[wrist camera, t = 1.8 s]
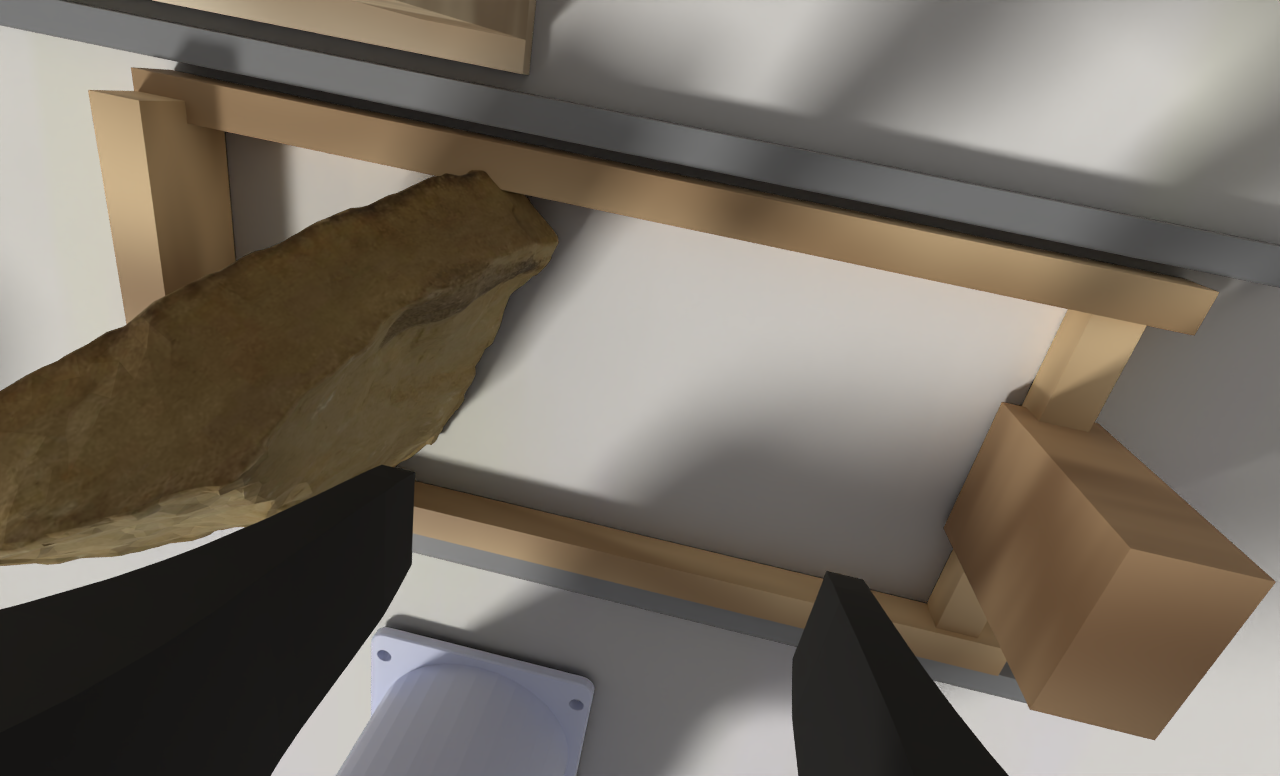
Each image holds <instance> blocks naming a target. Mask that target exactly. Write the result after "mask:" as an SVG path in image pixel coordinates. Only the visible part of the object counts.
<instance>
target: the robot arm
mask: <svg viewBox="0 0 1280 776" xmlns="http://www.w3.org/2000/svg"><path fill="white" fill-rule="evenodd" d="M414 486H415V472H411V471H407V470H402V469H398V468H394V467H390V466H386V465H380V466H377V467H375V468H372V469H370V470H368V471H366V472H363V473H361V474H359V475H357V476H355V477H353V478H351V479H349V480H347V481H344V482H342V483H340V484H338V485H336V486H334V487H332V488H330V489H328V490H326V491H324V492H322V493H320V494H318V495H316V496H313V497H311V498H309V499H307V500H305V501H303V502H301V503H299V504H296V505H294V506H292V507H290V508H288V509H286V510H284V511H281V512H279V513H277V514H275V515H273V516H271V517H269V518H266V519H264V520H262V521H259V522H257V523H255V524H252V525H250V526H248V527H245V528H243V529H240V530H238V531H236V532H233V533H231V534H229V535H226V536H224V537H222V538H219V539H217V540H215V541H212V542H210V543H208V544H205V545H203V546H200V547H198V548H195V549H193V550H190V551H187V552H185V553H182V554H179V555H177V556H174V557H171V558H169V559H166V560H163V561H160V562H157V563H155V564H152V565H149V566H146V567H143V568H140V569H137V570H134V571H131V572H128V573H125V574H123V575H119V576H116V577H113V578H110V579H107V580H104V581H100V582H97V583H93V584H90V585H86V586H83V587H79V588H76V589H73V590H69V591H66V592H62V593H59V594H55V595H52V596H48V597H45V598H41V599H38V600H34V601H31V602H27V603H24V604H20V605H16V606H12V607H9V608H5V609H1V610H0V776H271V774H272V772H273V771H274V769H275V767H276V766H277V764H278V762H279V761H280V759H281V758H282V756H283V755H284V753H285V752H286V750H287V749H288V747H289V746H290V744H291V743H292V741H293V740H294V738H295V737H296V735H297V734H298V733H299V731H300V730H301V728H302V727H303V726H304V724H305V723H306V721H307V720H308V719H309V717H310V716H311V715H312V713H313V712H314V711H315V709H316V708H317V706H318V705H319V704H320V702H321V701H322V700H323V698H324V697H325V696H326V694H327V693H328V691H329V690H330V689H331V687H332V686H333V685H334V683H335V682H336V681H337V679H338V678H339V676H340V675H341V674H342V672H343V671H344V670H345V668H346V667H347V666H348V664H349V663H350V661H351V660H352V659H353V657H354V656H355V655H356V653H357V652H358V650H359V649H360V648H361V646H362V645H363V644H364V642H365V641H366V639H367V638H368V637H369V635H370V634H371V632H372V631H373V630H374V628H375V627H376V625H377V624H378V623H379V621H380V620H381V618H382V617H383V616H384V614H385V612H386V610H387V609H388V607H389V605H390V603H391V602H392V600H393V598H394V596H395V595H396V593H397V591H398V589H399V587H400V585H401V584H402V582H403V580H404V578H405V576H406V574H407V572H408V570H409V569H410V567H411V565H412V540H413V513H414ZM593 695H594V685H593V683H592V682H591V681H590V680H589V679H588V678H585V677H583V676H579V675H575V674H571V673H567V672H563V671H559V670H555V669H551V668H547V667H544V666H540V665H536V664H532V663H528V662H524V661H520V660H516V659H512V658H508V657H504V656H500V655H496V654H492V653H488V652H484V651H480V650H476V649H473V648H469V647H465V646H461V645H457V644H453V643H449V642H445V641H441V640H437V639H433V638H429V637H425V636H421V635H417V634H413V633H409V632H405V631H402V630H398V629H394V628H389V627H383V628H380V629H379V630H377V632H376V633H375V634H374V636H373V637H372V643H371V718H370V720H369V722H368V723H367V725H366V727H365V728H364V730H363V732H362V733H361V735H360V737H359V738H358V740H357V741H356V743H355V745H354V746H353V748H352V750H351V751H350V753H349V755H348V756H347V758H346V760H345V761H344V763H343V765H342V766H341V768H340V770H339V771H338V773H337V774H336V776H576V775H577V770H578V765H579V761H580V756H581V751H582V746H583V742H584V737H585V732H586V728H587V723H588V718H589V713H590V709H591V704H592V699H593ZM575 699H576V700H575ZM577 700H579V701H577ZM792 721H793V731H794V740H795V749H796V758H797V767H798V776H1009V775H1008V774H1007V773H1006V772H1005V771H1004V770H1003V768H1002V767H1001V766H1000V765H999V764H998V763H997V761H996V760H995V759H994V758H993V757H992V756H991V754H990V753H989V752H988V751H987V750H986V748H985V747H984V746H983V745H982V743H981V742H980V741H979V740H978V738H977V737H976V736H975V735H974V733H973V732H972V731H971V730H970V728H969V727H968V726H967V724H966V723H965V722H964V721H963V719H962V718H961V717H960V716H959V714H958V713H957V712H956V711H955V709H954V708H953V707H952V705H951V704H950V703H949V701H948V700H947V699H946V697H945V696H944V695H943V693H942V692H941V691H940V689H939V688H938V687H937V685H936V684H935V683H934V681H933V680H932V679H931V677H930V676H929V674H928V673H927V672H926V670H925V669H924V667H923V666H922V665H921V663H920V662H919V660H918V659H917V658H916V656H915V655H914V653H913V652H912V650H911V649H910V648H909V646H908V645H907V643H906V642H905V640H904V639H903V637H902V636H901V634H900V633H899V631H898V630H897V629H896V627H895V626H894V624H893V623H892V621H891V620H890V618H889V617H888V615H887V614H886V612H885V611H884V609H883V608H882V606H881V605H880V603H879V602H878V600H877V599H876V598H875V596H874V595H873V593H872V592H871V590H870V589H869V587H868V586H867V585H866V583H865V582H864V580H862V579H858V578H854V577H850V576H845V575H841V574H837V573H833V572H829V571H826V574H825V576H824V579H823V582H822V584H821V587H820V589H819V592H818V595H817V597H816V600H815V602H814V605H813V608H812V610H811V613H810V615H809V618H808V620H807V623H806V626H805V628H804V631H803V633H802V636H801V639H800V641H799V644H798V646H797V649H796V652H795V654H794V657H793V666H792Z"/></svg>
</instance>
